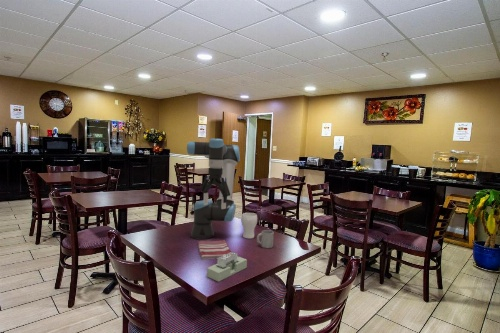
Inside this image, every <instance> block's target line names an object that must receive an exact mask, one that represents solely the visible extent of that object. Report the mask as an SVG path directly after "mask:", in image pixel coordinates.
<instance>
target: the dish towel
mask: <svg viewBox="0 0 500 333" xmlns="http://www.w3.org/2000/svg"><path fill="white" fill-rule="evenodd" d="M197 245H198V251H199V255H200V257H201V260H213V259H215V258H216V259H217V260H218V257H220V256H223V255H225V254H228V253H230V252H232V251H231V249H230V248H229V245H228V244H227V241H226V240H225V239H223V240H222V239H221V240H216V241H215V240H200V241H197ZM216 259H215V260H216Z"/></svg>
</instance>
